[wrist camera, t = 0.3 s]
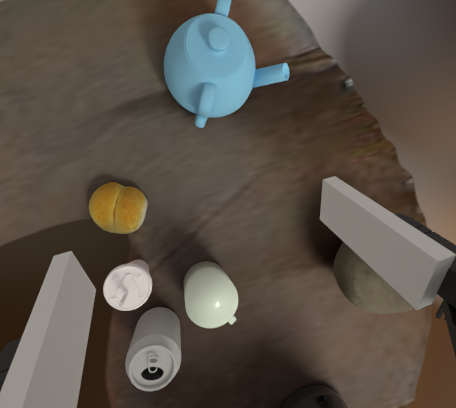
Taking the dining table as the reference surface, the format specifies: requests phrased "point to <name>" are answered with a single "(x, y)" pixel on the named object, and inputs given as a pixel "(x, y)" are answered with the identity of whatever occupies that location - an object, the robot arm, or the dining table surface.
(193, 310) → the sage mug
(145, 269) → the smoothie
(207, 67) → the teapot
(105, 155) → the dining table surface
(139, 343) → the can
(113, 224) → the bread roll
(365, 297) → the cantaloupe
